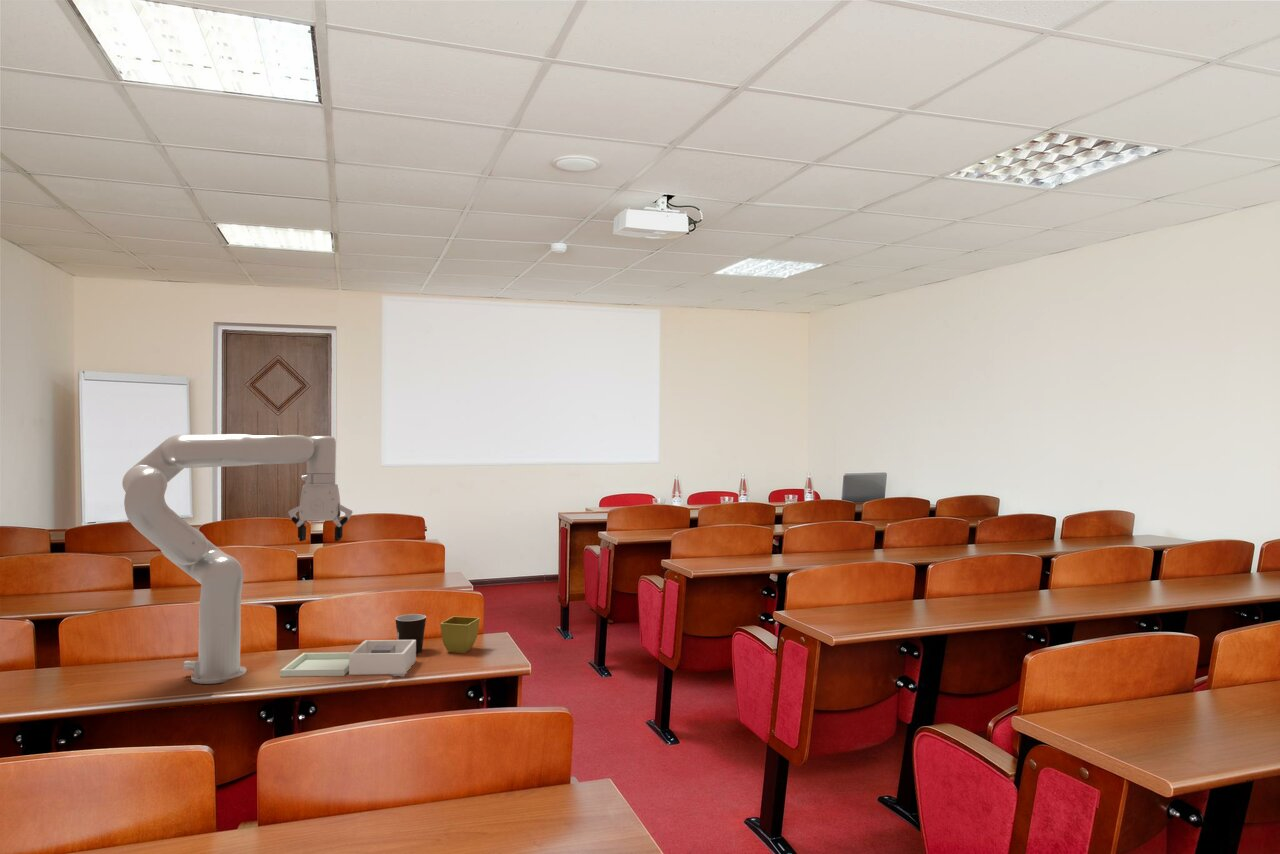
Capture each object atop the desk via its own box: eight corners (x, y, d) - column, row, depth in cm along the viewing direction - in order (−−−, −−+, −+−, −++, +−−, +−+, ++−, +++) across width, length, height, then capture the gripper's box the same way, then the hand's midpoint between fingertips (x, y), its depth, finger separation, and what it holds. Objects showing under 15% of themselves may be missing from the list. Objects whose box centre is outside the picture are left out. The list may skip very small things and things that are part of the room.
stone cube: (371, 669, 205) (371, 650, 205) (376, 663, 210) (376, 645, 210) (390, 668, 205) (390, 650, 205) (395, 663, 210) (395, 644, 210)
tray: (280, 679, 198) (280, 670, 198) (303, 661, 214) (303, 652, 214) (343, 678, 199) (343, 669, 199) (361, 660, 215) (362, 652, 215)
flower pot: (467, 656, 220) (467, 624, 220) (439, 654, 222) (439, 622, 222) (479, 647, 229) (480, 617, 229) (452, 646, 231) (452, 616, 231)
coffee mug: (420, 656, 220) (421, 621, 220) (390, 656, 220) (391, 620, 220) (432, 645, 231) (432, 612, 232) (403, 645, 231) (404, 611, 232)
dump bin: (348, 677, 200) (349, 654, 200) (364, 661, 214) (364, 640, 214) (403, 676, 201) (404, 653, 201) (415, 661, 215) (416, 639, 215)
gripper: (284, 480, 212) (283, 542, 212) (348, 480, 213) (347, 542, 213) (294, 478, 220) (293, 538, 220) (356, 479, 221) (355, 538, 221)
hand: (320, 540), depth 216 cm, fingers open, 9 cm apart
